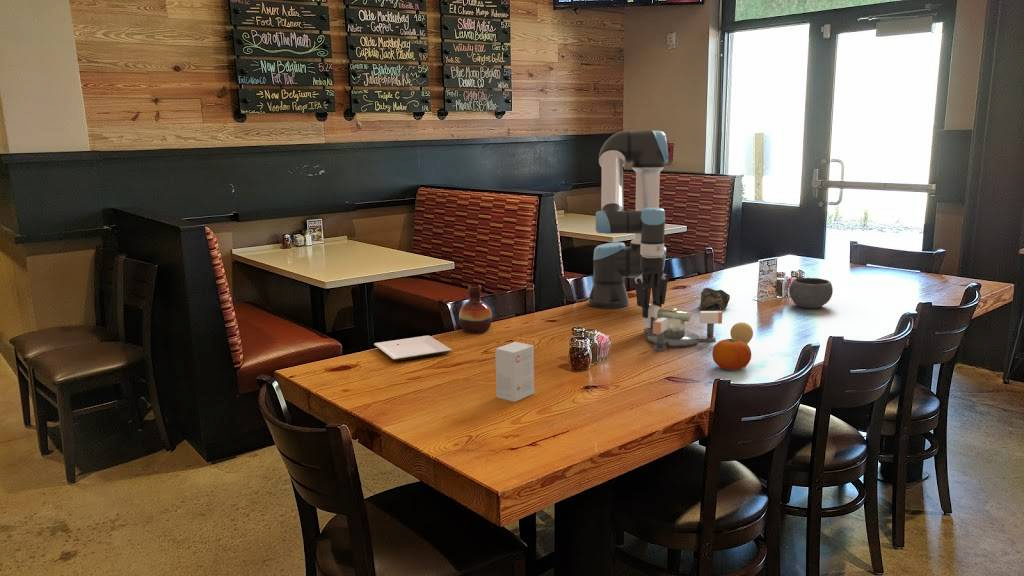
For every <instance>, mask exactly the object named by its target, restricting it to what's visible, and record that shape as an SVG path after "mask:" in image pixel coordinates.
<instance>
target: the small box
mask: <svg viewBox="0 0 1024 576" xmlns="http://www.w3.org/2000/svg"><path fill="white" fill-rule="evenodd" d="M494 350H495V351H494V352H495V353H494V355H495V392H496V398H498V399H501V400H505V401H508V402H513V403H516V402H518V401H520V400H523V399H525V398H527V397H529V396H531V395H535V378H534V377H535V369H534V367H535V366H534V365H535V363H534V362H535V360H534V358H535V356H534V345H532V344H528V343H525V342H524V343H523V342H520V341H513V342H510V343H508V344H505V345H502V346H499V347H495V348H494Z"/></svg>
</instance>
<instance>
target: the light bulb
mask: <svg viewBox="0 0 1024 576" xmlns="http://www.w3.org/2000/svg"><path fill="white" fill-rule="evenodd" d="M753 336H754V330H753V328H752V326H751V325H750V324H749V323H746V322H737V323H734V324H733V325H732V326H731V329H730V337H731V338H730V339H737V340H740V341H743V342H745V343H746V344H747V345H748V344H749V343H750V341H751V340H752V339H753Z"/></svg>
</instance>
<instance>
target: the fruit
mask: <svg viewBox="0 0 1024 576" xmlns="http://www.w3.org/2000/svg"><path fill="white" fill-rule="evenodd" d="M711 353H712V354H711V355H712V360H713V361H714V363H715V364H716V366H718V367H719V368H720V369H723V370H725V371H738V370H742V369H745V367H747V366H748V364H749V363H750V362H751V359H752V349H751V347H750V346H749V345H748V344H746V343H745V342H743V341H740V340H737V339H732V338H726V339H721V340H719V341H718V342H716V343H715V344H714V346H713V347H712V351H711Z"/></svg>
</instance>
